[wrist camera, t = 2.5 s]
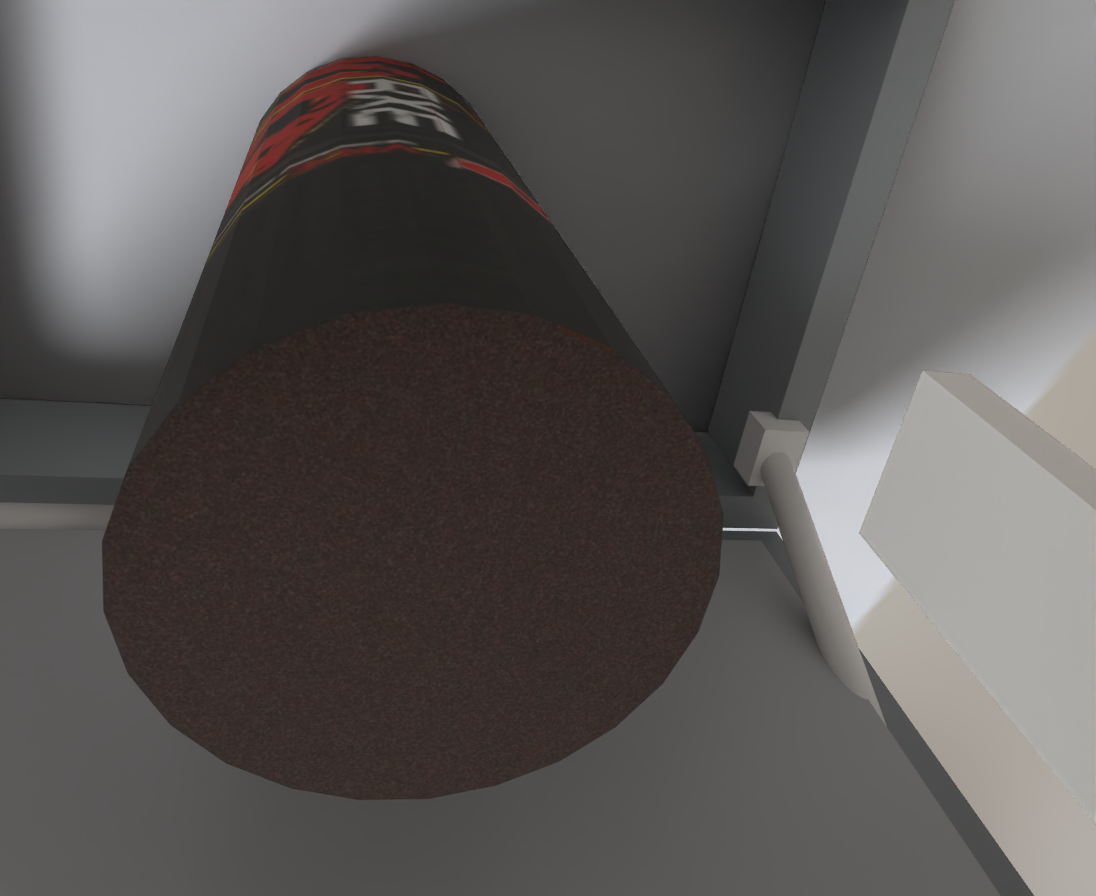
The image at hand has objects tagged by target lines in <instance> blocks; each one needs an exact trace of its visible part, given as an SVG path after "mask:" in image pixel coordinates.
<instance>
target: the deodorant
mask: <svg viewBox="0 0 1096 896" xmlns="http://www.w3.org/2000/svg"><path fill="white" fill-rule="evenodd" d="M722 529H723V510H722V506H721V503H720V499H719V495H718V491H717V487H716V483H715V479H714V476H713V472H712V468H711V464H710V460H709V456H708V453H707V451H706V450H705V448H704V446H703V445H702V443H701V442H700V440H699V439H698V437H697V436H696V434H695V433H694V431H693V430H692V428H691V427H690V425H689V424H688V422H687V421H686V419H685V417H684V416H683V414H682V413H681V411H680V410H679V408H678V407H677V405H676V404H675V402H674V401H673V399H672V398H671V396H670V395H669V393H668V392H667V390H666V389H665V387H664V386H663V384H662V383H661V382H660V380H659V379H658V377H657V376H656V374H655V373H654V371H653V370H652V368H651V367H650V366H649V364H648V363H647V361H646V360H645V358H644V357H643V355H642V354H641V352H640V351H639V350H638V348H637V347H636V345H635V344H634V342H633V341H632V339H631V338H630V336H629V335H628V334H627V332H626V331H625V329H624V328H623V326H622V325H621V323H620V322H619V320H618V319H617V318H616V316H615V315H614V313H613V312H612V310H611V309H610V307H609V306H608V304H607V303H606V302H605V300H604V299H603V297H602V296H601V294H600V293H599V291H598V290H597V288H596V287H595V286H594V284H593V283H592V281H591V280H590V278H589V277H588V275H587V274H586V272H585V271H584V270H583V268H582V267H581V265H580V264H579V262H578V261H577V259H576V258H575V256H574V255H573V254H572V252H571V251H570V249H569V248H568V246H567V245H566V243H565V242H564V240H563V239H562V238H561V236H560V235H559V233H558V232H557V230H556V229H555V227H554V226H553V224H552V223H551V222H550V220H549V219H548V217H547V216H546V214H545V213H544V211H543V210H542V208H541V207H540V206H539V204H538V203H537V201H536V200H535V198H534V197H533V195H532V194H531V192H530V191H529V190H528V188H527V187H526V185H525V184H524V182H523V181H522V179H521V178H520V176H519V175H518V174H517V172H516V171H515V169H514V168H513V166H512V165H511V163H510V162H509V160H508V159H507V158H506V156H505V155H504V153H503V152H502V150H501V149H500V147H499V146H498V144H497V143H496V141H495V140H494V139H493V137H492V136H491V134H490V133H489V131H488V130H487V128H486V127H485V125H484V124H483V123H482V121H481V120H480V118H479V117H478V115H477V114H476V112H475V111H474V109H473V108H472V107H471V105H470V104H469V103H468V102H467V101H466V100H465V99H464V98H463V97H462V96H461V95H460V94H458V93H457V92H456V91H455V90H454V89H453V88H452V87H451V86H450V85H448V84H447V83H446V82H445V81H444V80H443V79H441V78H439V77H437V76H435V75H433V74H431V73H429V72H427V71H425V70H423V69H421V68H419V67H417V66H415V65H413V64H411V63H406V62H401V61H396V60H392V59H387V58H382V57H377V56H376V57H363V58H350V59H340V60H337V61H335V62H332V63H329V64H327V65H324V66H321V67H319V68H316V69H314V70H311V71H308V72H307V73H306V74H304V75H303V76H302V77H300V78H299V79H298V80H296V81H295V82H294V83H292V84H291V85H290V86H289V87H287V88H286V89H285V90H283V91H282V92H281V93H280V94H279V95H278V97H277V98H276V99H275V101H274V102H273V104H272V105H271V106H270V108H269V109H268V111H267V112H266V113H265V115H264V116H263V118H262V119H261V120H260V123H259V125H258V128H257V131H256V133H255V136H254V138H253V141H252V144H251V146H250V149H249V152H248V154H247V157H246V159H245V162H244V165H243V167H242V170H241V172H240V175H239V178H238V180H237V183H236V186H235V188H234V191H233V193H232V196H231V199H230V201H229V204H228V206H227V209H226V212H225V214H224V217H223V220H222V222H221V225H220V227H219V230H218V233H217V235H216V238H215V240H214V243H213V246H212V248H211V251H210V254H209V256H208V259H207V261H206V264H205V267H204V269H203V272H202V274H201V277H200V280H199V282H198V285H197V288H196V290H195V293H194V295H193V298H192V301H191V303H190V306H189V308H188V311H187V314H186V316H185V319H184V321H183V324H182V327H181V329H180V332H179V335H178V337H177V340H176V342H175V345H174V348H173V350H172V353H171V355H170V358H169V361H168V363H167V366H166V369H165V371H164V374H163V376H162V379H161V382H160V384H159V387H158V389H157V392H156V395H155V397H154V400H153V403H152V405H151V408H150V410H149V413H148V416H147V418H146V421H145V423H144V426H143V429H142V431H141V434H140V437H139V439H138V442H137V444H136V447H135V450H134V452H133V455H132V457H131V460H130V463H129V465H128V468H127V471H126V474H125V476H124V479H123V482H122V485H121V488H120V491H119V494H118V496H117V499H116V502H115V505H114V508H113V511H112V514H111V516H110V519H109V522H108V525H107V528H106V531H105V534H104V537H103V539H102V571H103V612H104V614H105V617H106V619H107V622H108V624H109V627H110V630H111V632H112V635H113V637H114V640H115V642H116V645H117V647H118V650H119V653H120V655H121V658H122V660H123V663H124V665H125V668H126V671H127V673H128V675H129V676H130V677H131V678H132V680H133V681H134V682H135V683H136V684H137V686H138V687H139V688H140V689H141V690H142V692H143V693H144V694H145V695H146V696H147V698H148V699H149V700H150V701H151V702H152V704H153V705H154V706H155V707H156V708H157V710H158V711H159V712H160V713H161V714H162V716H163V717H164V718H165V719H166V720H167V722H168V723H169V724H170V725H171V726H172V727H174V728H175V729H177V730H178V731H180V732H181V733H182V734H184V735H185V736H187V737H188V738H190V739H191V740H193V741H194V742H195V743H197V744H198V745H200V746H201V747H203V748H204V749H206V750H207V751H209V752H210V753H211V754H213V755H214V756H216V757H217V758H219V759H220V760H222V761H223V762H225V763H226V764H228V765H231V766H234V767H236V768H239V769H241V770H244V771H247V772H249V773H252V774H254V775H257V776H260V777H262V778H265V779H267V780H270V781H273V782H275V783H278V784H280V785H283V786H286V787H288V788H291V789H297V790H302V791H308V792H314V793H320V794H326V795H332V796H338V797H344V798H349V799H355V800H397V799H431V798H436V797H441V796H446V795H451V794H457V793H462V792H467V791H472V790H477V789H482V788H487V787H493V786H497V785H499V784H502V783H504V782H507V781H510V780H512V779H515V778H518V777H520V776H523V775H525V774H528V773H531V772H533V771H536V770H539V769H541V768H544V767H546V766H549V765H552V764H554V763H557V762H559V761H561V760H563V759H564V758H566V757H568V756H569V755H571V754H573V753H574V752H576V751H577V750H579V749H581V748H582V747H584V746H586V745H587V744H589V743H591V742H592V741H594V740H596V739H597V738H599V737H600V736H602V735H604V734H605V733H607V732H609V731H610V730H612V729H614V728H615V727H616V726H618V725H619V724H620V723H621V722H622V721H623V720H624V719H625V718H626V717H627V716H628V715H629V714H631V713H632V712H633V711H634V710H635V709H636V708H637V707H638V706H639V705H640V704H641V703H643V702H644V701H645V700H646V699H647V698H648V697H649V696H650V695H651V694H652V693H653V692H654V691H656V690H657V689H658V688H659V687H660V686H661V685H662V684H663V683H664V681H665V680H666V678H667V677H668V676H669V674H670V673H671V671H672V670H673V668H674V667H675V665H676V664H677V662H678V661H679V660H680V658H681V657H682V655H683V654H684V652H685V651H686V649H687V648H688V647H689V645H690V644H691V642H692V641H693V639H694V638H695V636H696V635H697V634H698V632H699V629H700V626H701V623H702V621H703V618H704V615H705V613H706V610H707V607H708V605H709V602H710V599H711V597H712V594H713V591H714V588H715V586H716V583H717V580H718V578H719V574H720V559H721V544H722Z"/></svg>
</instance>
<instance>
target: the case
mask: <svg viewBox="0 0 1096 896" xmlns="http://www.w3.org/2000/svg"><path fill="white" fill-rule="evenodd" d="M953 3H954V0H826V2H825V6H824V10H823V13H822V17H821V20H820V24H819V28H818V31H817V35H816V39H815V42H814V46H813V50H812V53H811V57H810V61H809V64H808V68H807V72H806V75H805V79H804V82H803V86H802V90H801V93H800V97H799V101H798V104H797V108H796V112H795V115H794V119H793V123H792V126H791V130H790V134H789V137H788V141H787V144H786V148H785V152H784V155H783V159H782V163H781V166H780V170H779V174H778V177H777V181H776V185H775V188H774V192H773V195H772V199H771V203H770V206H769V210H768V214H767V217H766V221H765V225H764V228H763V232H762V236H761V239H760V243H759V247H758V250H757V254H756V257H755V261H754V265H753V268H752V272H751V276H750V279H749V283H748V287H747V290H746V294H745V298H744V301H743V305H742V309H741V312H740V316H739V319H738V323H737V327H736V330H735V334H734V338H733V341H732V345H731V349H730V352H729V356H728V360H727V363H726V367H725V370H724V374H723V378H722V381H721V385H720V389H719V392H718V396H717V400H716V403H715V407H714V411H713V414H712V418H711V422H710V425H709V429H708V432H694V433H695V434H696V436H697V437H698V439H699V440H700V442H701V443H702V445H703V446H704V448H705V450H706V451H707V453H708V456H709V460H710V464H711V468H712V472H713V476H714V479H715V483H716V487H717V491H718V495H719V499H720V503H721V506H722V510H723V528H768V529H777V528H778V527H779V530H780V533H781V536H782V539H783V541H782V539H781V538H780V536H779V535H778V533H777V532H764V531H722V544H721V559H720V574H719V578H718V580H717V583H716V586H715V588H714V591H713V594H712V597H711V599H710V602H709V605H708V607H707V610H706V613H705V615H704V618H703V621H702V623H701V626H700V629H699V632H698V634H697V635H696V636H695V638H694V639H693V641H692V642H691V644H690V645H689V647H688V648H687V649H686V651H685V652H684V654H683V655H682V657H681V658H680V660H679V661H678V662H677V664H676V665H675V667H674V668H673V670H672V671H671V673H670V674H669V676H668V677H667V678H666V680H665V681H664V683H663V684H662V685H661V686H660V687H659V688H658V689H657V690H656V691H654V692H653V693H652V694H651V695H650V696H649V697H648V698H647V699H646V700H645V701H644V702H643V703H641V704H640V705H639V706H638V707H637V708H636V709H635V710H634V711H633V712H632V713H631V714H629V715H628V716H627V717H626V718H625V719H624V720H623V721H622V722H621V723H620V724H619V725H618V726H616V727H615V728H614V729H612V730H610V731H609V732H607V733H605V734H604V735H602V736H600V737H599V738H597V739H596V740H594V741H592V742H591V743H589V744H587V745H586V746H584V747H582V748H581V749H579V750H577V751H576V752H574V753H573V754H571V755H569V756H568V757H566V758H564V759H563V760H561V761H559V762H557V763H554V764H552V765H549V766H546V767H544V768H541V769H539V770H536V771H533V772H531V773H528V774H525V775H523V776H520V777H518V778H515V779H512V780H510V781H507V782H504V783H502V784H499V785H497V786H493V787H487V788H482V789H477V790H472V791H467V792H462V793H457V794H451V795H446V796H441V797H436V798H431V799H397V800H355V799H349V798H344V797H338V796H332V795H326V794H320V793H314V792H308V791H302V790H297V789H291V788H288V787H286V786H283V785H280V784H278V783H275V782H273V781H270V780H267V779H265V778H262V777H260V776H257V775H254V774H252V773H249V772H247V771H244V770H241V769H239V768H236V767H234V766H231V765H228V764H226V763H225V762H223V761H222V760H220V759H219V758H217V757H216V756H214V755H213V754H211V753H210V752H209V751H207V750H206V749H204V748H203V747H201V746H200V745H198V744H197V743H195V742H194V741H193V740H191V739H190V738H188V737H187V736H185V735H184V734H182V733H181V732H180V731H178V730H177V729H175V728H174V727H172V726H171V725H170V724H169V723H168V722H167V720H166V719H165V718H164V717H163V716H162V714H161V713H160V712H159V711H158V710H157V708H156V707H155V706H154V705H153V704H152V702H151V701H150V700H149V699H148V698H147V696H146V695H145V694H144V693H143V692H142V690H141V689H140V688H139V687H138V686H137V684H136V683H135V682H134V681H133V680H132V678H131V677H130V676H129V675H128V673H127V671H126V668H125V665H124V663H123V660H122V658H121V655H120V653H119V650H118V647H117V645H116V642H115V640H114V637H113V635H112V632H111V630H110V627H109V624H108V622H107V619H106V617H105V614H104V612H103V571H102V539H103V537H104V534H105V531H106V528H107V525H108V522H109V519H110V516H111V514H112V511H113V508H114V505H115V502H116V499H117V496H118V494H119V491H120V488H121V485H122V482H123V479H124V476H125V474H126V471H127V468H128V465H129V463H130V460H131V457H132V455H133V452H134V450H135V447H136V444H137V442H138V439H139V437H140V434H141V431H142V429H143V426H144V423H145V421H146V418H147V416H148V413H149V410H150V408H151V406H146V405H125V404H104V403H83V402H62V401H41V400H20V399H0V896H1034V895H1033V893H1032V892H1031V891H1030V889H1029V888H1028V886H1027V885H1026V883H1025V882H1024V881H1023V879H1022V878H1021V876H1020V875H1019V874H1018V872H1017V871H1016V870H1015V868H1014V867H1013V865H1012V864H1011V862H1010V861H1009V860H1008V858H1007V857H1006V855H1005V854H1004V852H1003V851H1002V850H1001V848H1000V847H999V845H998V844H997V843H996V841H995V840H994V838H993V837H992V836H991V834H990V833H989V831H988V830H987V829H986V827H985V826H984V824H983V823H982V821H981V820H980V819H979V817H978V816H977V814H976V813H975V812H974V810H973V809H972V807H971V806H970V804H969V803H968V802H967V800H966V799H965V797H964V796H963V795H962V793H961V792H960V790H959V789H958V788H957V786H956V785H955V783H954V782H953V781H952V779H951V778H950V776H949V775H948V773H947V772H946V771H945V769H944V768H943V766H942V765H941V764H940V762H939V761H938V759H937V758H936V756H935V755H934V754H933V752H932V751H931V749H930V748H929V747H928V745H927V744H926V742H925V741H924V740H923V738H922V737H921V735H920V734H919V732H918V731H917V730H916V728H915V727H914V726H913V724H912V723H911V721H910V720H909V718H908V717H907V716H906V714H905V713H904V711H903V710H902V708H901V707H900V706H899V704H898V703H897V701H896V700H895V699H894V697H893V696H892V695H891V693H890V692H889V690H888V689H887V687H886V686H885V684H884V683H883V682H882V680H881V679H880V677H879V676H878V675H877V673H876V672H875V670H874V669H873V668H872V666H871V665H870V663H869V662H868V660H867V659H866V658H865V656H864V655H863V654H862V652H861V651H860V649H859V648H858V645H857V642H856V640H855V637H854V634H853V631H852V628H851V626H850V623H849V620H848V617H847V615H846V612H845V609H844V606H843V603H842V601H841V598H840V595H839V592H838V590H837V587H836V584H835V581H834V579H833V576H832V573H831V570H830V567H829V565H828V562H827V559H826V556H825V554H824V551H823V548H822V545H821V543H820V540H819V537H818V534H817V531H816V529H815V526H814V523H813V520H812V518H811V515H810V512H809V509H808V507H807V504H806V501H805V498H804V495H803V493H802V490H801V487H800V484H799V482H798V479H797V476H796V471H797V468H798V465H799V462H800V459H801V456H802V454H803V451H804V448H805V445H806V442H807V439H808V436H809V433H810V430H811V427H812V424H813V421H814V418H815V415H816V412H817V409H818V406H819V403H820V400H821V397H822V394H823V391H824V388H825V385H826V382H827V379H828V376H829V373H830V370H831V367H832V364H833V361H834V358H835V355H836V352H837V349H838V346H839V343H840V340H841V337H842V334H843V331H844V328H845V325H846V322H847V319H848V316H849V313H850V310H851V307H852V304H853V301H854V298H855V295H856V292H857V289H858V286H859V284H860V281H861V278H862V275H863V272H864V269H865V266H866V263H867V260H868V257H869V254H870V251H871V248H872V245H873V242H874V239H875V236H876V233H877V230H878V227H879V224H880V221H881V218H882V215H883V212H884V209H885V206H886V203H887V200H888V197H889V194H890V191H891V188H892V185H893V182H894V179H895V176H896V173H897V170H898V167H899V164H900V161H901V158H902V155H903V152H904V149H905V146H906V143H907V140H908V137H909V134H910V131H911V128H912V125H913V122H914V119H915V117H916V114H917V111H918V108H919V105H920V102H921V99H922V96H923V93H924V90H925V87H926V84H927V81H928V78H929V75H930V72H931V69H932V66H933V63H934V60H935V57H936V54H937V51H938V48H939V45H940V42H941V39H942V36H943V33H944V30H945V27H946V24H947V21H948V18H949V15H950V12H951V9H952V6H953Z"/></svg>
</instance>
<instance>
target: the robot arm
mask: <svg viewBox="0 0 1096 896" xmlns="http://www.w3.org/2000/svg"><path fill="white" fill-rule="evenodd" d="M859 534H860V535H861V536H862V537H863V539H864V540H865V541H866V542H867V543H868V545H869V546H870V547H871V548H872V550H873V551H874V552H875V553H876V555H877V556H878V557H879V558H880V560H881V561H882V562H883V563H884V564H885V566H886V567H887V568H888V569H889V571H890V572H891V573H892V574H893V576H894V577H895V578H896V579H897V580H898V582H899V583H900V584H901V585H902V587H903V588H904V589H905V590H906V592H907V593H908V594H909V595H910V596H911V598H912V599H913V600H914V601H915V602H916V604H917V605H918V606H919V608H920V609H921V610H922V611H923V612H924V614H925V615H926V616H927V617H928V619H929V620H930V621H931V622H932V624H933V625H934V626H935V627H936V628H937V630H938V631H939V632H940V633H941V635H942V636H943V637H944V638H945V640H946V641H947V642H948V643H949V645H950V646H951V647H952V648H953V649H954V651H955V652H956V653H957V654H958V656H959V657H960V658H961V659H962V661H963V662H964V663H965V664H966V665H967V666H968V668H969V669H970V670H971V671H972V673H973V674H974V675H975V677H976V678H977V679H978V680H979V681H980V682H981V684H982V685H983V686H984V688H985V689H986V690H987V691H988V692H989V694H990V695H991V696H992V697H993V699H994V700H995V701H996V702H997V704H998V705H999V706H1000V707H1001V709H1002V710H1003V711H1004V712H1005V714H1006V715H1007V716H1008V717H1009V718H1010V719H1011V721H1012V722H1013V723H1014V724H1015V726H1016V727H1017V728H1018V730H1019V731H1020V732H1021V733H1022V734H1023V736H1024V737H1025V738H1026V739H1027V740H1028V742H1029V743H1030V744H1031V745H1032V747H1033V748H1034V749H1035V750H1036V752H1037V753H1038V754H1039V755H1040V757H1041V758H1042V759H1043V760H1044V761H1045V763H1046V764H1047V765H1048V766H1049V768H1050V769H1051V770H1052V771H1053V773H1054V774H1055V775H1056V776H1057V778H1058V779H1059V780H1060V781H1061V782H1062V784H1063V785H1064V786H1065V787H1066V789H1067V790H1068V791H1069V792H1070V794H1071V795H1072V796H1073V797H1074V798H1075V800H1076V801H1077V802H1078V803H1079V805H1080V806H1081V807H1082V808H1083V809H1084V811H1085V812H1086V813H1087V815H1088V816H1089V817H1090V818H1091V819H1092V820H1093V822H1094V823H1095V824H1096V468H1094V467H1093V466H1092V465H1090V464H1089V463H1088V462H1086V461H1085V460H1083V459H1082V458H1081V457H1080V456H1078V455H1077V454H1076V453H1074V452H1073V451H1072V450H1070V449H1069V448H1068V447H1066V446H1065V445H1064V444H1062V443H1061V442H1060V441H1058V440H1057V439H1056V438H1054V437H1053V436H1052V435H1050V434H1049V433H1048V432H1046V431H1045V430H1044V429H1042V428H1041V427H1040V426H1038V425H1037V424H1035V423H1034V422H1033V421H1032V420H1030V419H1029V418H1028V417H1026V416H1025V415H1024V414H1022V413H1021V412H1020V411H1018V410H1017V409H1016V408H1014V407H1013V406H1012V405H1010V404H1009V403H1008V402H1006V401H1005V400H1004V399H1002V398H1001V397H1000V396H998V395H997V394H996V393H994V392H993V391H992V390H990V389H989V388H988V387H986V386H985V385H984V384H982V383H981V382H980V381H978V380H977V379H976V378H974V377H973V376H972V375H970V374H961V373H948V372H935V371H922V373H921V375H920V378H919V380H918V383H917V386H916V388H915V391H914V393H913V396H912V398H911V401H910V404H909V406H908V409H907V411H906V414H905V416H904V419H903V421H902V424H901V427H900V429H899V432H898V434H897V437H896V439H895V442H894V445H893V447H892V450H891V452H890V455H889V457H888V460H887V462H886V465H885V468H884V470H883V473H882V475H881V478H880V480H879V483H878V486H877V488H876V491H875V493H874V496H873V498H872V501H871V503H870V506H869V509H868V511H867V514H866V516H865V519H864V521H863V524H862V526H861V529H860V532H859Z"/></svg>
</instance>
